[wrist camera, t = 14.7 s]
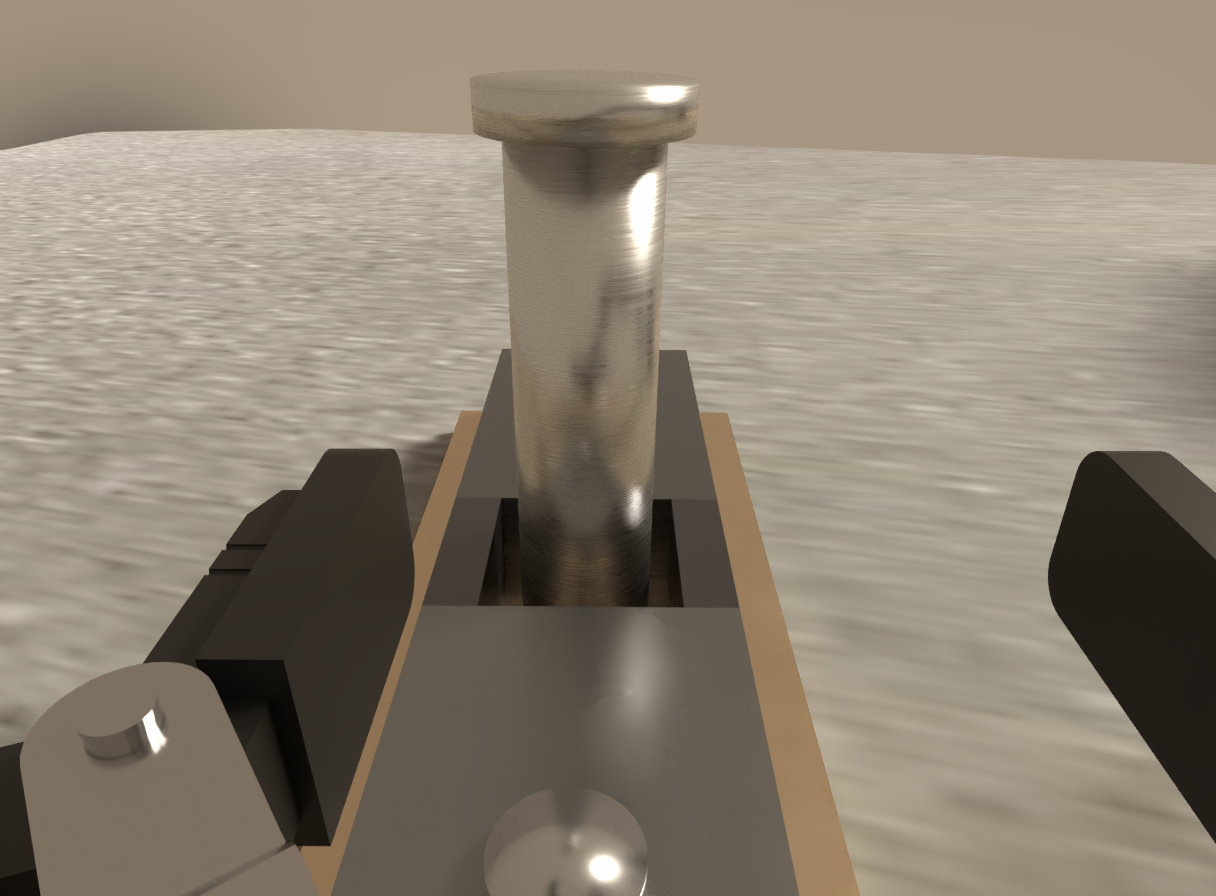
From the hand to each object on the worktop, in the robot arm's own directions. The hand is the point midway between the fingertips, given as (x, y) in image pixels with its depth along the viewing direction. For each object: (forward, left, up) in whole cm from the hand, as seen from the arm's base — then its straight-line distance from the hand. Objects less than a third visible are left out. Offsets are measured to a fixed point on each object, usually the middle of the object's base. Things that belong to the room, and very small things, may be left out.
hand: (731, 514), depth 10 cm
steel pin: (-7, -9, -11) cm, 16 cm away
